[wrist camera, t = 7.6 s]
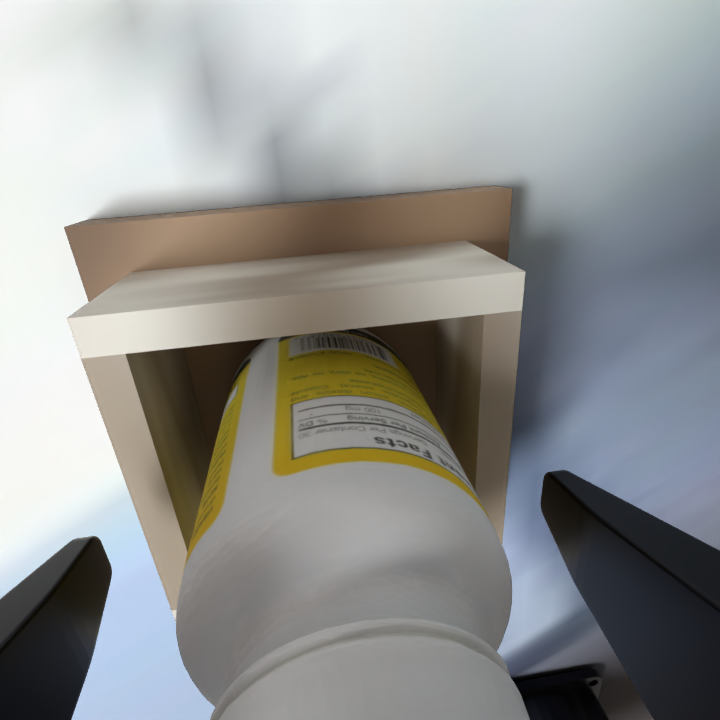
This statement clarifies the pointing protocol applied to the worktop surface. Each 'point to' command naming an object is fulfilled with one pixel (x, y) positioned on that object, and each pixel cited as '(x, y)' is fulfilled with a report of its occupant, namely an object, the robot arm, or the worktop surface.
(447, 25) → the worktop surface
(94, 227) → the socket board
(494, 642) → the supplement bottle
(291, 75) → the worktop surface
